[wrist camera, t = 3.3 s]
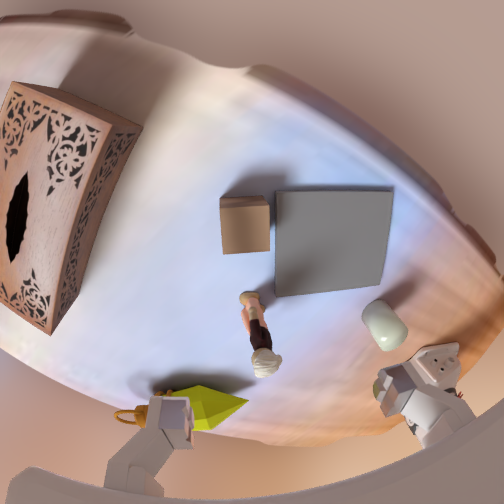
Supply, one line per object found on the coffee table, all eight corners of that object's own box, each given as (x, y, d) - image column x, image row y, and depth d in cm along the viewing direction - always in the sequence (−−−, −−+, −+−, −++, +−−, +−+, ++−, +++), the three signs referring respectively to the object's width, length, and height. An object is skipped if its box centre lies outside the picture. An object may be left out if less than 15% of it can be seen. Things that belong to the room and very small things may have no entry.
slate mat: (389, 190, 33) (393, 192, 33) (376, 281, 39) (379, 284, 38) (274, 191, 32) (276, 192, 31) (274, 293, 38) (276, 297, 37)
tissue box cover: (78, 294, 35) (50, 336, 26) (11, 251, 31) (-25, 281, 22) (144, 127, 28) (112, 125, 18) (58, 88, 23) (12, 81, 14)
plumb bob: (240, 367, 44) (105, 387, 39) (254, 414, 37) (105, 432, 32) (244, 388, 49) (125, 406, 45) (256, 429, 42) (127, 446, 38)
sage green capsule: (390, 297, 41) (411, 322, 34) (383, 321, 43) (402, 347, 36) (364, 301, 40) (384, 328, 34) (359, 326, 42) (376, 354, 36)
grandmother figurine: (227, 293, 37) (231, 361, 25) (252, 280, 37) (266, 345, 25) (254, 330, 40) (267, 397, 28) (277, 319, 40) (297, 384, 28)
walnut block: (262, 195, 32) (269, 205, 28) (263, 235, 34) (269, 251, 30) (219, 198, 32) (219, 208, 27) (222, 237, 34) (223, 254, 29)
